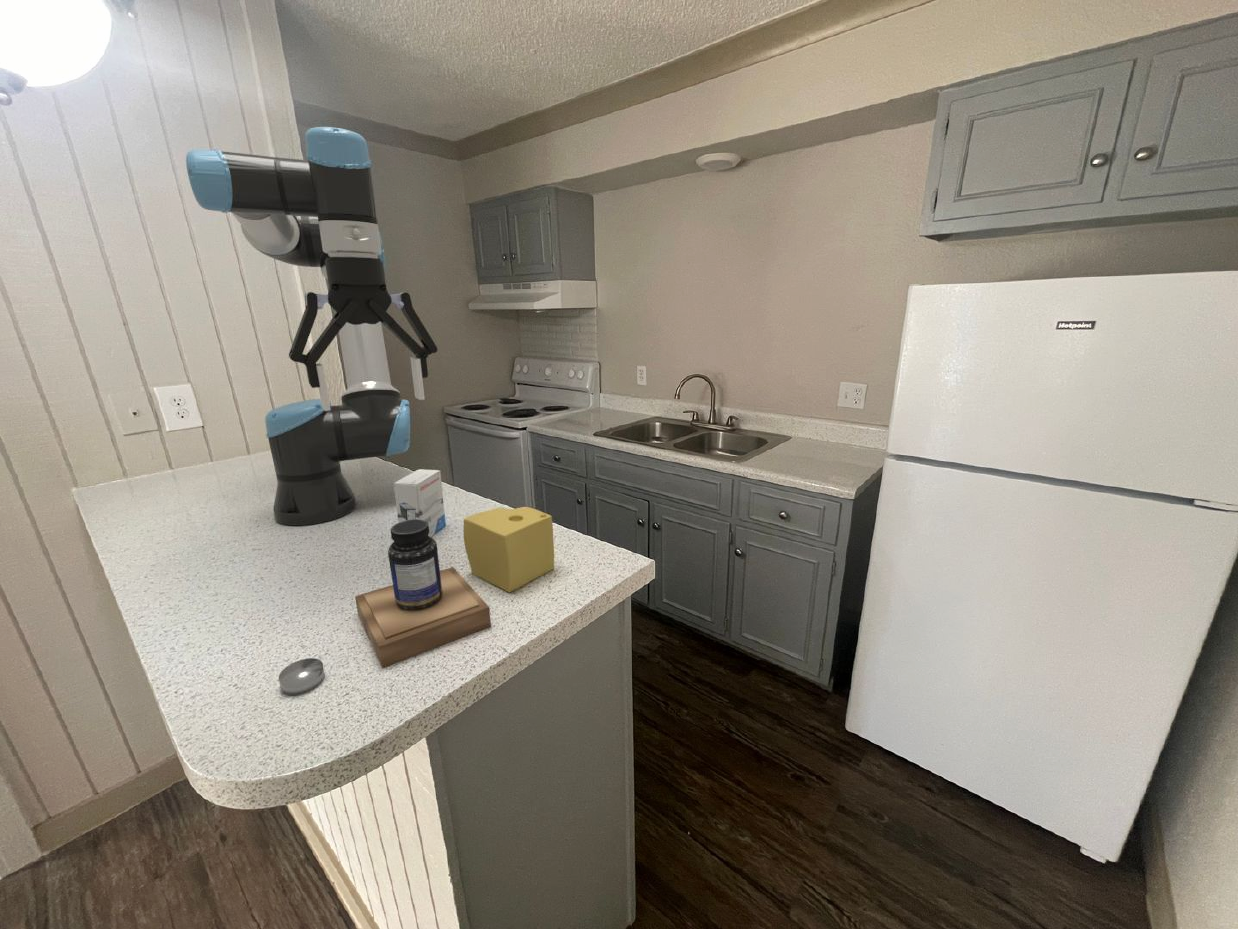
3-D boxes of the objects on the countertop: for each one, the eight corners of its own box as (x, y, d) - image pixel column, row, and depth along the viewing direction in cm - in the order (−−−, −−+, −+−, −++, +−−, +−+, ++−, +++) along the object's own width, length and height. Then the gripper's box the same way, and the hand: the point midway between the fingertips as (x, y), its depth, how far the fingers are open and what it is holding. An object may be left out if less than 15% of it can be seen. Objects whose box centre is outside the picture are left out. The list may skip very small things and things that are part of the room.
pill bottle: (405, 588, 74) (395, 517, 71) (448, 587, 74) (440, 516, 71) (388, 612, 68) (376, 536, 65) (435, 611, 68) (425, 535, 65)
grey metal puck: (280, 680, 61) (277, 668, 60) (322, 665, 63) (319, 653, 63) (283, 702, 57) (280, 689, 57) (328, 686, 60) (325, 673, 59)
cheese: (516, 551, 92) (512, 499, 89) (558, 570, 85) (556, 514, 82) (466, 574, 84) (460, 518, 81) (508, 596, 78) (504, 536, 75)
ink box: (425, 523, 104) (418, 468, 100) (448, 525, 103) (441, 469, 99) (399, 542, 96) (391, 482, 92) (424, 544, 95) (416, 484, 91)
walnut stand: (358, 614, 73) (354, 594, 72) (454, 583, 81) (452, 565, 80) (382, 667, 63) (378, 644, 62) (490, 626, 71) (489, 605, 70)
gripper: (249, 250, 63) (284, 419, 70) (449, 259, 78) (462, 398, 84) (246, 253, 69) (278, 409, 76) (433, 260, 83) (446, 391, 90)
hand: (375, 403), depth 80 cm, fingers open, 13 cm apart
